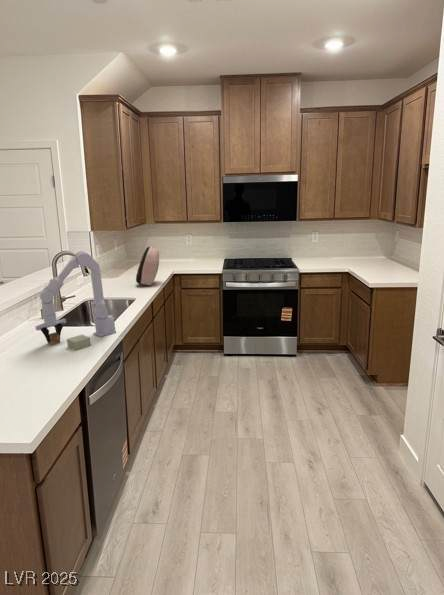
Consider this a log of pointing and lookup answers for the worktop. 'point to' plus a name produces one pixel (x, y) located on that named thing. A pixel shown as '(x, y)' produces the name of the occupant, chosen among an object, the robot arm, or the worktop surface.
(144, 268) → the pink rounded shell
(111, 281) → the worktop surface
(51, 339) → the walnut cube
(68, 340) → the sage base block
